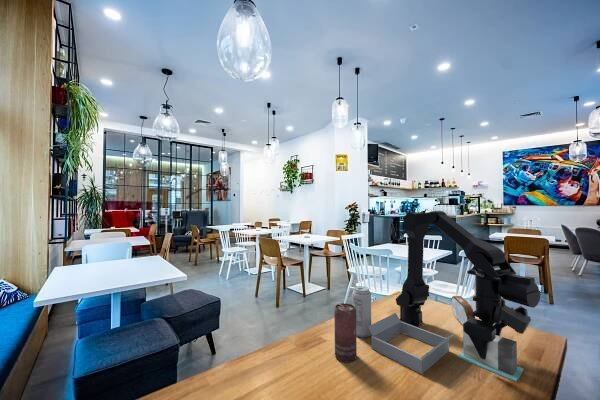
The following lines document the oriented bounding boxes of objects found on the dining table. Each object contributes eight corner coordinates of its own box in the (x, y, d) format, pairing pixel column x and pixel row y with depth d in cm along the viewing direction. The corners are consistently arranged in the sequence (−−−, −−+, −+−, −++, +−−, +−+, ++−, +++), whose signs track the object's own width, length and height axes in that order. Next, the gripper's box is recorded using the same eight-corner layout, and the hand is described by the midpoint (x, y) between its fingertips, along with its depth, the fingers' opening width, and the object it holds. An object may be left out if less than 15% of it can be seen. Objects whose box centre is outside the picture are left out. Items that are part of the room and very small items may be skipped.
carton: (366, 346, 80) (366, 326, 80) (395, 329, 90) (395, 312, 90) (428, 377, 66) (428, 353, 66) (455, 353, 76) (455, 332, 76)
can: (342, 347, 79) (342, 300, 80) (360, 356, 75) (360, 306, 75) (329, 355, 75) (329, 306, 75) (348, 365, 71) (347, 312, 71)
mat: (457, 357, 74) (457, 356, 74) (467, 348, 78) (467, 347, 78) (516, 381, 64) (516, 380, 64) (523, 370, 68) (523, 368, 68)
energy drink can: (374, 336, 86) (374, 290, 86) (357, 339, 84) (357, 292, 84) (366, 328, 91) (365, 284, 92) (349, 330, 90) (349, 286, 90)
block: (463, 355, 74) (463, 330, 74) (468, 350, 77) (468, 326, 77) (512, 375, 65) (512, 347, 66) (517, 368, 68) (516, 341, 68)
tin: (476, 333, 87) (476, 307, 87) (466, 332, 88) (465, 307, 88) (459, 314, 102) (458, 292, 102) (450, 313, 103) (449, 292, 103)
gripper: (516, 313, 59) (518, 383, 59) (535, 294, 71) (536, 352, 71) (461, 299, 68) (462, 360, 68) (486, 284, 79) (487, 336, 79)
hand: (488, 352), depth 71 cm, fingers open, 9 cm apart
